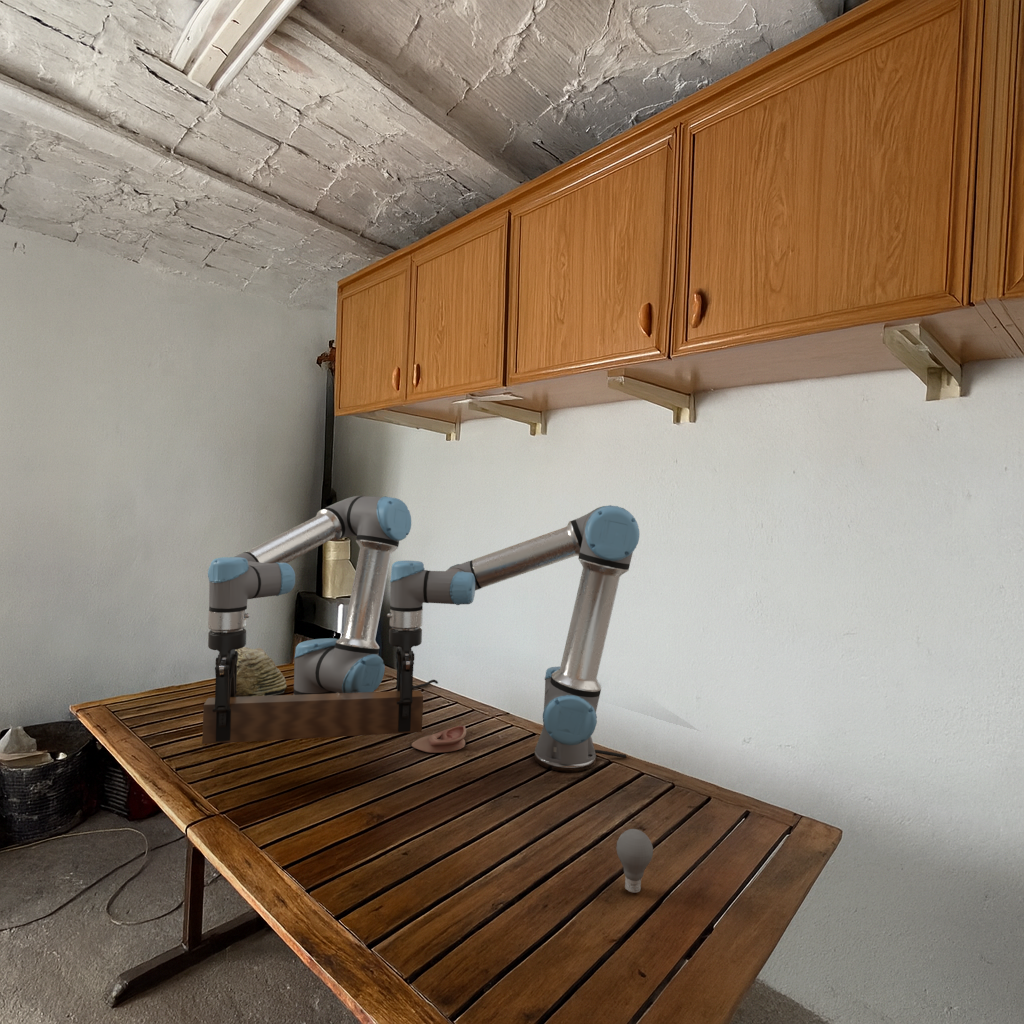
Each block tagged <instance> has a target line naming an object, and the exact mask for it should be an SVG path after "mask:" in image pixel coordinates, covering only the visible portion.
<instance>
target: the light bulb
mask: <svg viewBox="0 0 1024 1024" xmlns="http://www.w3.org/2000/svg"><path fill="white" fill-rule="evenodd" d="M615 849H616V854H617V857H618V859H619V861H620V863H621V865H622V867H623V873H624V874H623V875H624V876H625V878H624V888H625V890H627V891H628V892H630V893H634V894H635V893H639V892H640V891H641V889H642V887H641V886H642V879H643V877H644V875H645V871H646V868H647V867H648V866H649V864H650V863H651V861H652V859H653V855H654V847H653V843H652V841H651V838H649V836H648V835H647V834H646V833H645V832H643V831H642V830H641V829H636V828H629V829H627V830H625V831H623V832H622V833H621V834H620V835H619V837H618V839H617V841H616V847H615Z"/></svg>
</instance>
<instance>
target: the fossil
mask: <svg viewBox="0 0 1024 1024" xmlns="http://www.w3.org/2000/svg"><path fill="white" fill-rule="evenodd" d="M235 651H238V660H237V683H236V691H237V693H236V695H235V696H239V697H247V696H275V695H281V694H284V693H285V691H286V689H287V687H288V686H287V680H286V678H285V676H284V674H283V673H282V672H281V669H279V668H278V667H277V665H276V663H275V662H274V660H273V659H272V658H271V657H270V656H269V655H268V654H267V653H266V652H265V650H264V649H263V648H260V647H258V648H251V647H247V646H246V647H245V646H244V647H243V648H240V649H236V650H235Z"/></svg>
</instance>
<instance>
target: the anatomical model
mask: <svg viewBox="0 0 1024 1024" xmlns="http://www.w3.org/2000/svg"><path fill="white" fill-rule="evenodd" d="M466 735H467V728H466V726H464V725H458V726H453V727H450V728H446V729H443V730H441V731H439V732H436V733H433V734H429V735H424V736H422V737H420V738H418V739H416V740H415V741H413V742H412V743H411V747H412V748H414V749H417V750H419V751H421V752H425V753H430V754H433V753H434V754H436V753H449V752H455V751H458V750H461V749H463V748H465V746H466V740H465V737H466Z"/></svg>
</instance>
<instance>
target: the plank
mask: <svg viewBox="0 0 1024 1024" xmlns="http://www.w3.org/2000/svg"><path fill="white" fill-rule="evenodd" d="M412 699H413V702H412V703H411V728H410V731H408V732H398V720H399V704H397V702H398V701H400V691H397V690H389V691H388V690H387V691H374V692H359V693H331V694H303V695H294V694H276V695H272V696H247V697H230V709H231V726H230V741H217V742H216V712H213V711H212V710H213V709H214V708H215V697H208V698H207V699H206V700H205V702H204V704H203V709H202V710H203V711H202V739H201V744H202V745H205V744H225V743H241V742H243V743H244V742H245V743H246V742H261V741H262V742H263V741H278V740H279V741H280V740H298V739H299V740H300V739H319V738H337V737H338V738H339V737H354V736H355V737H357V736H374V735H375V736H377V735H392V734H393V735H396V734H412V733H422V732H423V715H424V714H423V713H424V712H423V711H424V694H423V692H422V690H421V689H420V690H412Z"/></svg>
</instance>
